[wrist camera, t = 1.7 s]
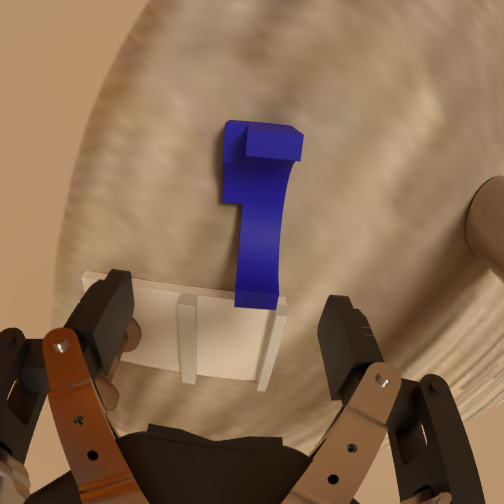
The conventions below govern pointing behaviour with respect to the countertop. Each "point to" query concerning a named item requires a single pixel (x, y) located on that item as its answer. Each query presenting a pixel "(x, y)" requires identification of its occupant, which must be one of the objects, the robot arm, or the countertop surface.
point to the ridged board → (202, 332)
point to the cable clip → (258, 202)
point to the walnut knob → (103, 381)
